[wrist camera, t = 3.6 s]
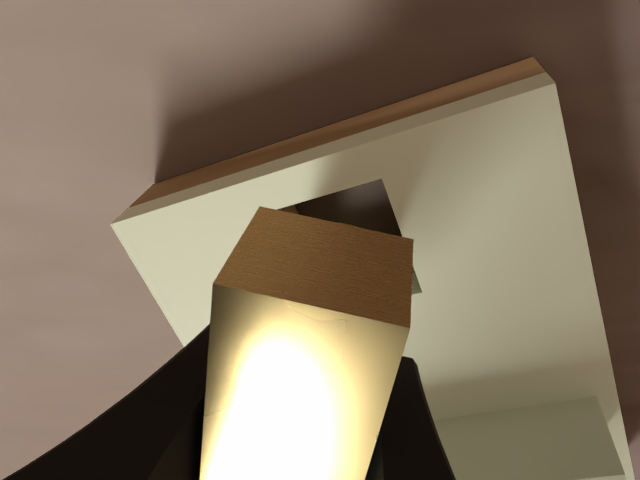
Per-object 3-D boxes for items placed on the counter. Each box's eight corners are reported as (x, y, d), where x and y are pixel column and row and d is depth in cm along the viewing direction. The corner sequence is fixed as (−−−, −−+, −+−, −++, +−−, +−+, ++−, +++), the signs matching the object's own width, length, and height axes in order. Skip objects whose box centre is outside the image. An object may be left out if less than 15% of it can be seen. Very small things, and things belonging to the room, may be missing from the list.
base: (618, 457, 19) (633, 499, 17) (321, 491, 22) (314, 528, 21) (532, 56, 13) (545, 71, 12) (153, 184, 17) (129, 207, 15)
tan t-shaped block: (417, 134, 12) (410, 327, 6) (356, 377, 15) (314, 645, 9) (315, 114, 12) (212, 283, 6) (277, 359, 15) (190, 613, 10)
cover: (633, 500, 17) (676, 615, 14) (314, 529, 21) (295, 627, 18) (546, 71, 12) (585, 118, 9) (128, 207, 15) (57, 273, 12)
